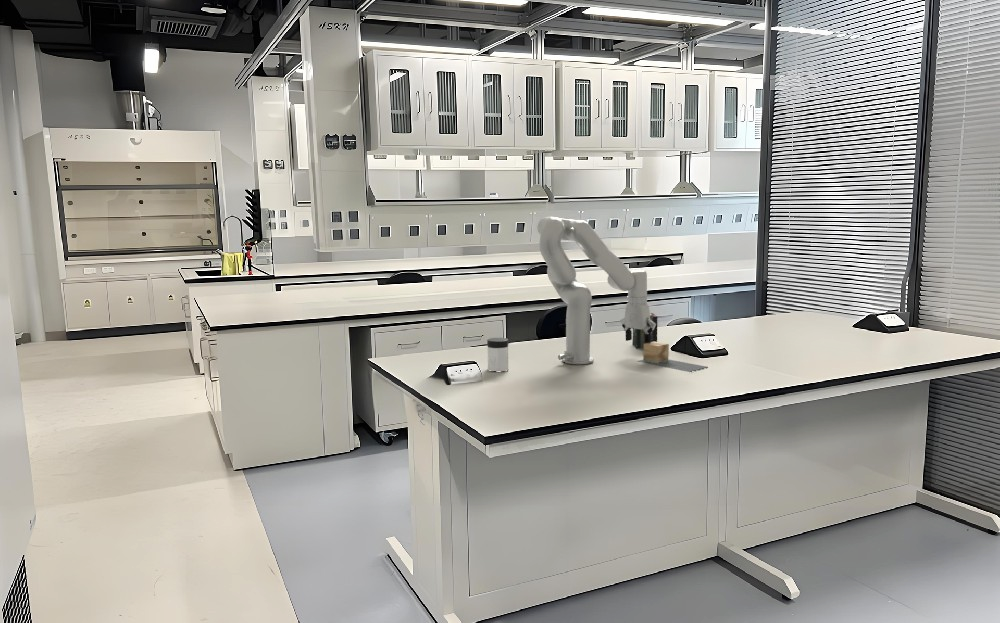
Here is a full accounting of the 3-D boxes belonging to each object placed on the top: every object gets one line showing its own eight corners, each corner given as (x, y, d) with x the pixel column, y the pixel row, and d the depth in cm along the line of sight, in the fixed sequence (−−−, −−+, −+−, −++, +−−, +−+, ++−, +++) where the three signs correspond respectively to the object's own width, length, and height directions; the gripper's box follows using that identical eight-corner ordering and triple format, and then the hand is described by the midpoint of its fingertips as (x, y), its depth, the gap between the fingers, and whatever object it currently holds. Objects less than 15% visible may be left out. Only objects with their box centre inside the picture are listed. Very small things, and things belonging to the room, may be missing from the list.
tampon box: (657, 349, 304) (658, 316, 302) (636, 349, 304) (636, 316, 302) (652, 344, 315) (653, 312, 313) (632, 344, 315) (632, 312, 313)
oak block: (657, 363, 275) (658, 346, 274) (643, 360, 280) (643, 343, 279) (668, 361, 279) (668, 343, 278) (654, 358, 284) (654, 341, 283)
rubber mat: (689, 372, 261) (689, 371, 260) (636, 362, 279) (636, 361, 279) (707, 367, 268) (707, 366, 268) (654, 357, 287) (654, 356, 287)
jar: (482, 371, 268) (482, 340, 266) (493, 366, 275) (492, 336, 273) (503, 373, 263) (502, 342, 262) (513, 369, 270) (513, 338, 269)
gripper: (615, 299, 288) (615, 340, 290) (649, 303, 274) (649, 345, 277) (626, 297, 292) (627, 337, 295) (660, 301, 279) (660, 342, 282)
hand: (638, 341), depth 286 cm, fingers open, 9 cm apart
